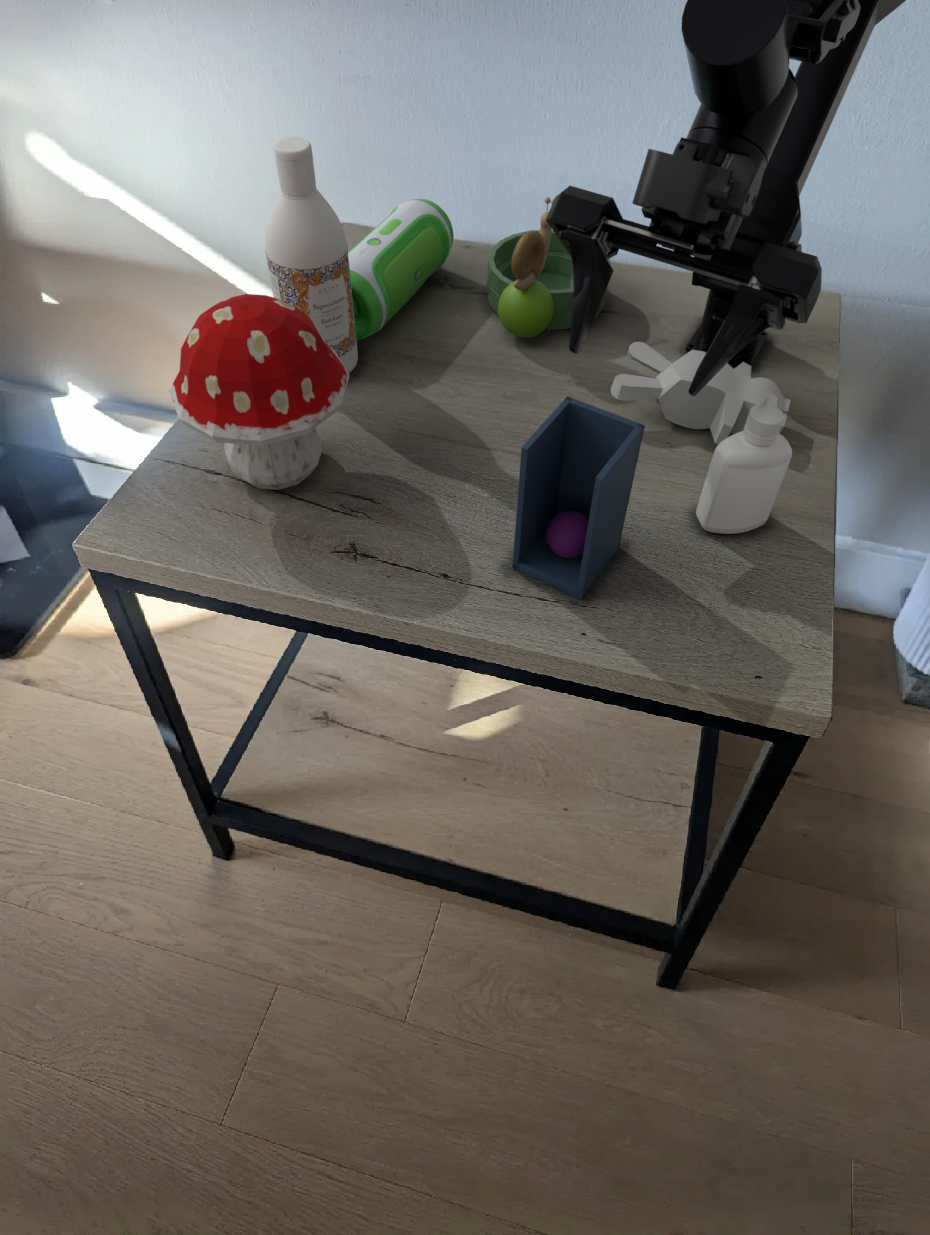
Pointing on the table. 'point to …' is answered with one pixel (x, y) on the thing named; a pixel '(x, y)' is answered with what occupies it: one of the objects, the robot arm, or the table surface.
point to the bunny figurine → (712, 407)
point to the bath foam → (310, 251)
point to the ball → (567, 534)
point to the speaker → (396, 262)
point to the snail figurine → (528, 285)
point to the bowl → (552, 276)
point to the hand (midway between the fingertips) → (630, 372)
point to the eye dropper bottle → (746, 473)
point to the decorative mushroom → (259, 387)
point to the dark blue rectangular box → (575, 491)
